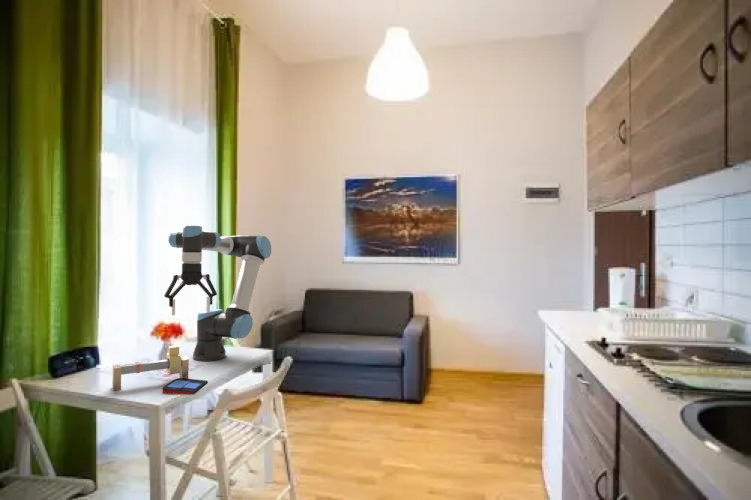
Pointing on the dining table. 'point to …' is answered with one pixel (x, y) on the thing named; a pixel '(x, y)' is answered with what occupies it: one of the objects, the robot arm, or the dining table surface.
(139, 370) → the grey rail on posts
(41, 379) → the dining table surface
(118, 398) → the dining table surface
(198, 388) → the game console
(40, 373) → the dining table surface
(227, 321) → the robot arm
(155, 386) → the dining table surface
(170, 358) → the beige wooden block
